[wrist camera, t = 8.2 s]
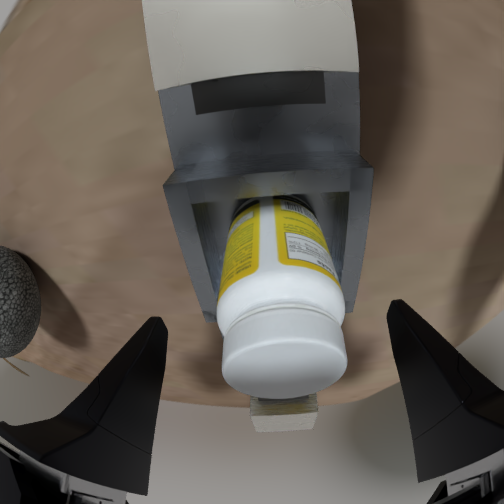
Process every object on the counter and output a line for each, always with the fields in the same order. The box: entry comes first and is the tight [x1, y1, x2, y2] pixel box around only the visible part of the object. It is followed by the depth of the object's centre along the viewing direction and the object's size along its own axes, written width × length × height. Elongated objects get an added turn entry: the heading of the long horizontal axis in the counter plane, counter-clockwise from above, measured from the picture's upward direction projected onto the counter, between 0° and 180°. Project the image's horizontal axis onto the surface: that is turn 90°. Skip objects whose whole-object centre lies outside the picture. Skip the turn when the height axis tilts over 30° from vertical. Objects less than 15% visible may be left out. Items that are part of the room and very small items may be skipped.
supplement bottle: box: [217, 194, 347, 399], centre depth 11 cm, size 5×5×8 cm
